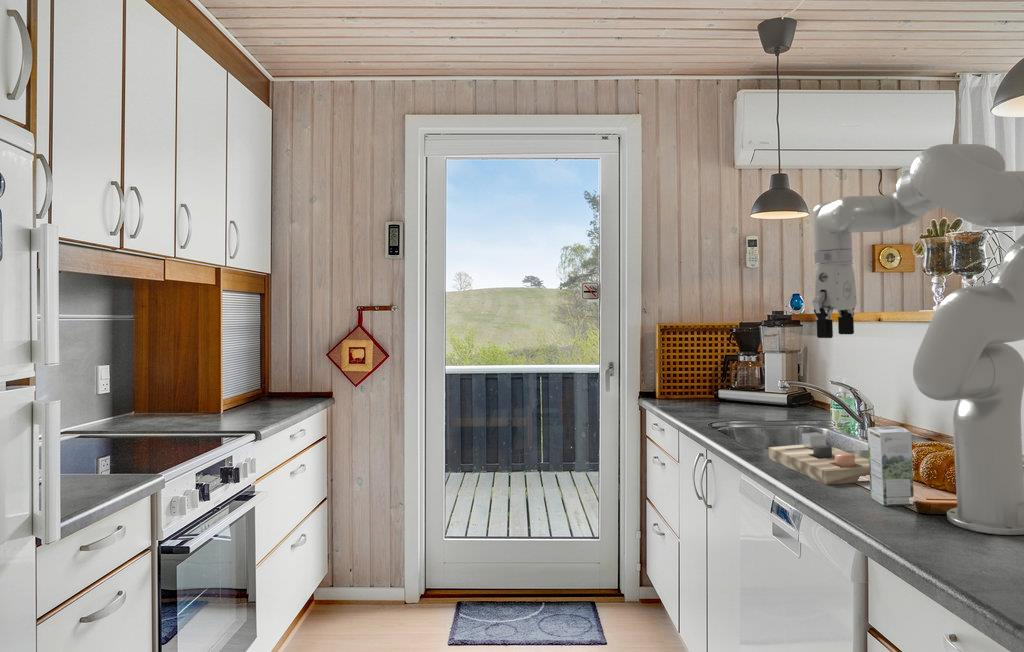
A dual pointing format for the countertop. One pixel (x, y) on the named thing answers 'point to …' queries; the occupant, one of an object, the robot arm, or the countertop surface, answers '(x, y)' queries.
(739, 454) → the countertop surface
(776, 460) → the light wooden board
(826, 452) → the black button
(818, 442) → the steel slider
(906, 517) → the countertop surface
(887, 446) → the syrup box
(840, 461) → the terracotta button
